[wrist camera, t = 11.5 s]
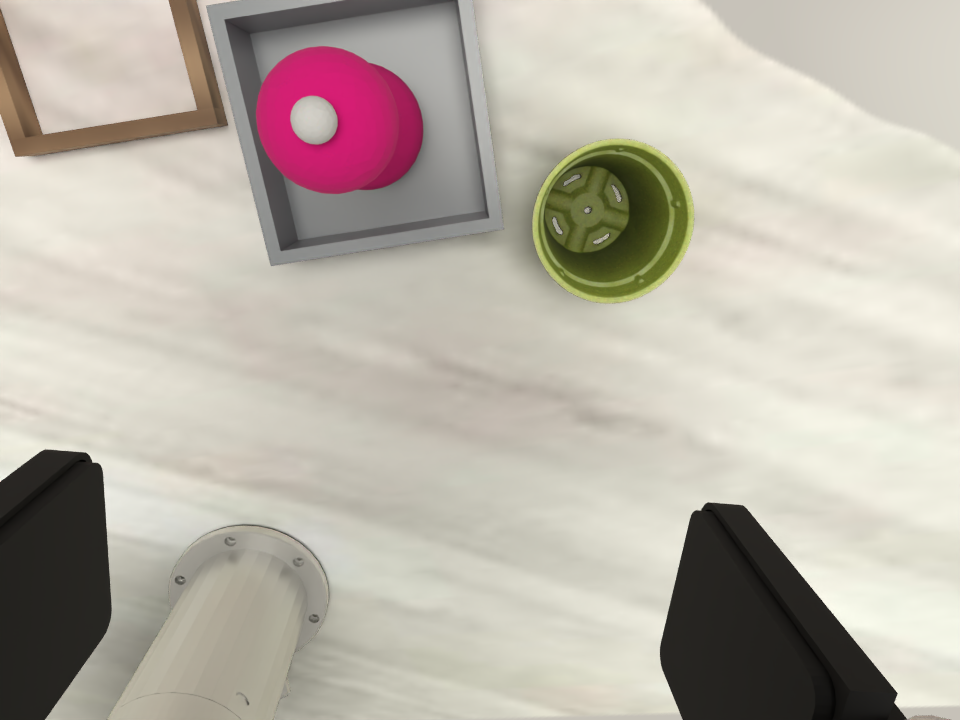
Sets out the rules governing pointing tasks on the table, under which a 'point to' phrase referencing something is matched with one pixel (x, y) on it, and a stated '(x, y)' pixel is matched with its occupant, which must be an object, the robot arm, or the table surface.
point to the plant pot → (613, 221)
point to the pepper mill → (338, 121)
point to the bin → (437, 88)
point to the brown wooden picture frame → (9, 97)
